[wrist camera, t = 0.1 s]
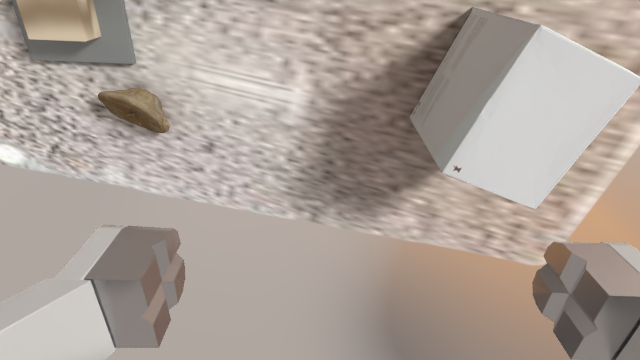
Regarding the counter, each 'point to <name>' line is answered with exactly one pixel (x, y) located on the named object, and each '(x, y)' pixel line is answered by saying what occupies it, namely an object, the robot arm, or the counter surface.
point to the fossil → (136, 108)
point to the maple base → (59, 19)
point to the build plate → (102, 49)
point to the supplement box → (516, 105)
